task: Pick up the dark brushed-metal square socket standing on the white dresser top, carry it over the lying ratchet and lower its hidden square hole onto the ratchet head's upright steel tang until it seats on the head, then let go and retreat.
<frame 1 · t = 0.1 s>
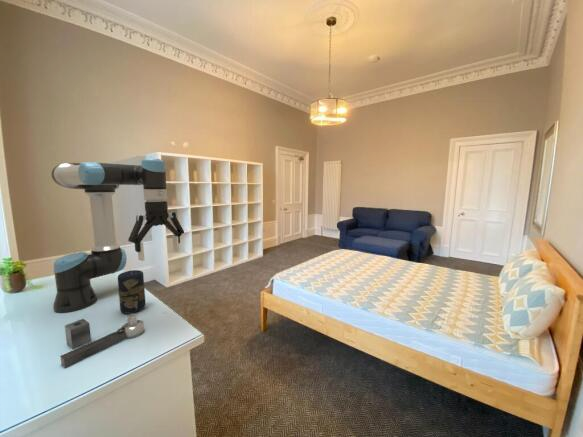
hand: (159, 255, 95), 28 cm above the dresser, fingers open, 13 cm apart
ratchet: (115, 341, 87), on the dresser
canister: (133, 309, 109), on the dresser
socket: (79, 342, 86), on the dresser
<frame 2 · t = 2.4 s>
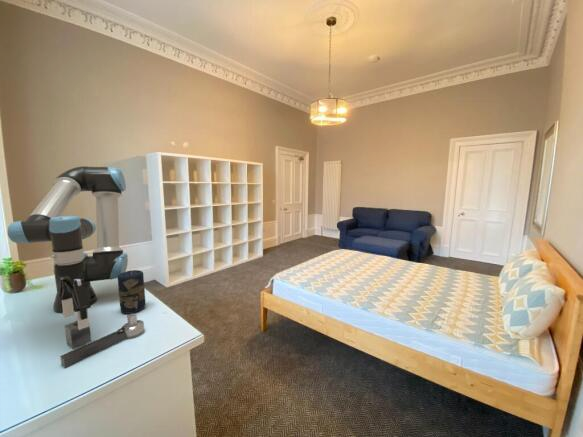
hand: (76, 322, 85), 8 cm above the dresser, fingers open, 13 cm apart
nothing on the dresser moved.
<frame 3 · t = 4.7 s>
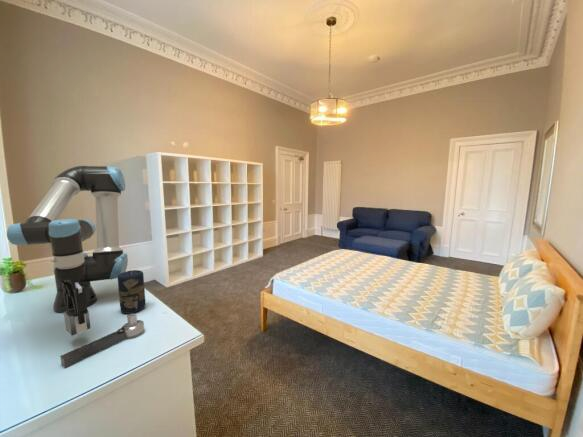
hand: (78, 328, 86), 5 cm above the dresser, fingers closed on socket, 5 cm apart
socket: (78, 329, 86), point 5 cm above the dresser, touching gripper
everything else where it was.
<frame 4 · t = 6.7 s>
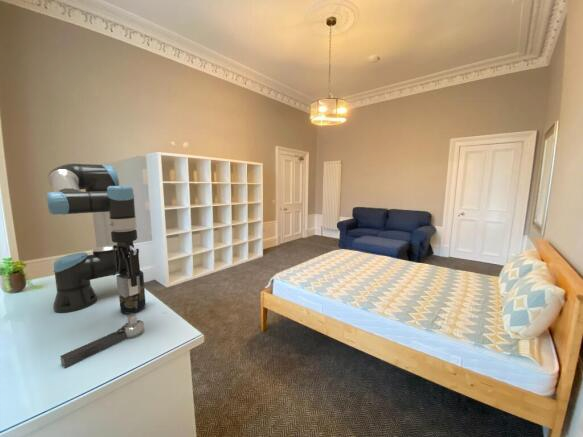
hand: (129, 292, 89), 16 cm above the dresser, fingers closed on socket, 5 cm apart
socket: (129, 293, 89), point 16 cm above the dresser, touching gripper
everything else where it was.
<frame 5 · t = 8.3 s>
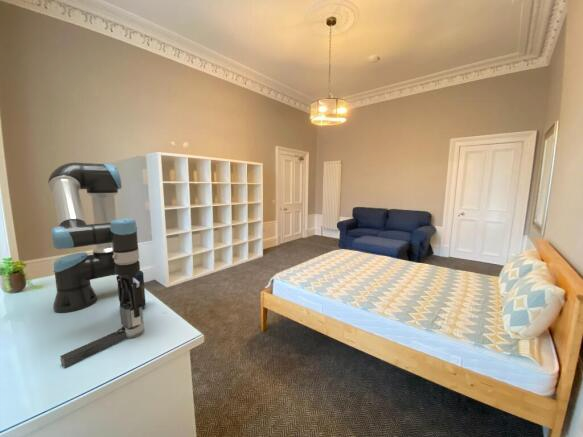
hand: (132, 322, 91), 4 cm above the dresser, fingers closed on socket, 5 cm apart
socket: (132, 323, 91), point 4 cm above the dresser, touching gripper
everything else where it was.
when the fingers open (4 cm above the dresser, at t = 8.7 s): socket stays where it is, resting on ratchet.
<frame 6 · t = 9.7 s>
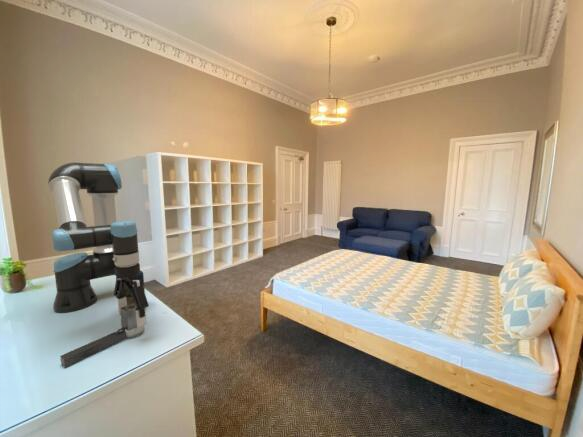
hand: (132, 319, 91), 6 cm above the dresser, fingers open, 13 cm apart
socket: (132, 325, 91), point 3 cm above the dresser, touching ratchet
everything else where it was.
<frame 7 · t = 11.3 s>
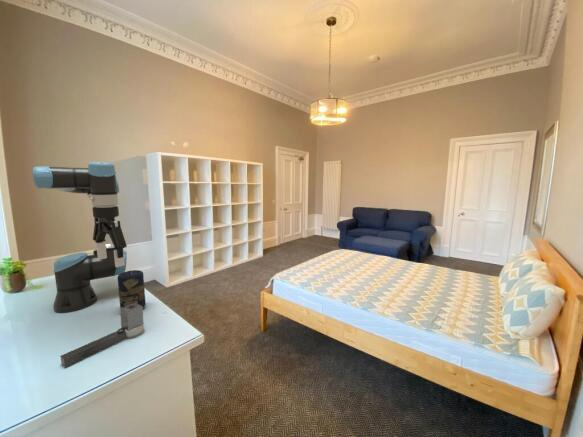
hand: (110, 262, 92), 26 cm above the dresser, fingers open, 13 cm apart
nothing on the dresser moved.
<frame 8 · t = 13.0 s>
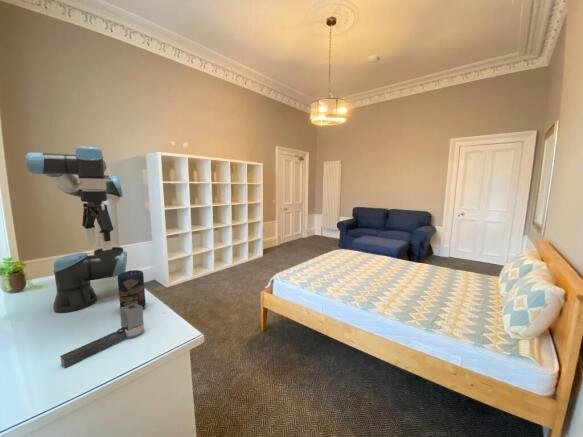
hand: (99, 247, 92), 32 cm above the dresser, fingers open, 13 cm apart
nothing on the dresser moved.
at the end: socket 0.1 cm from the target spot on the ratchet, point 3.3 cm above the ratchet's base; socket tilted 2°; the gripper is holding nothing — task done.
